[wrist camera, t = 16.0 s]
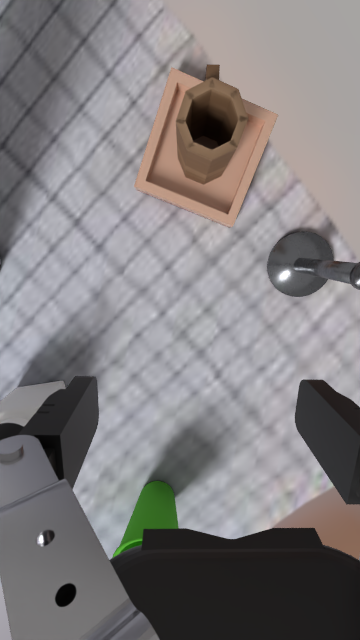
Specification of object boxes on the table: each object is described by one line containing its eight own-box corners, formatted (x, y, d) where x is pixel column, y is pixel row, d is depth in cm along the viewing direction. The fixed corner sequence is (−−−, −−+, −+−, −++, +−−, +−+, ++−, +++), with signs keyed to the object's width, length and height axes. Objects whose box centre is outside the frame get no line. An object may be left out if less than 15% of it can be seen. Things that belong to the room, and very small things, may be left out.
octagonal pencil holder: (172, 172, 33) (168, 141, 24) (194, 108, 32) (199, 48, 22) (215, 190, 34) (229, 167, 24) (239, 128, 32) (264, 78, 23)
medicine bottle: (15, 386, 41) (-50, 441, 30) (64, 379, 41) (17, 432, 29) (30, 429, 43) (-26, 498, 31) (76, 423, 43) (37, 489, 31)
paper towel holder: (257, 282, 37) (301, 305, 23) (284, 221, 35) (350, 206, 21) (312, 304, 38) (388, 339, 24) (342, 245, 36) (443, 246, 22)
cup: (159, 459, 44) (150, 525, 33) (198, 497, 45) (201, 572, 35) (117, 490, 46) (95, 563, 35) (156, 526, 47) (146, 607, 36)
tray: (137, 190, 35) (134, 186, 32) (172, 80, 32) (171, 67, 29) (229, 227, 36) (232, 226, 33) (271, 124, 33) (278, 114, 30)
